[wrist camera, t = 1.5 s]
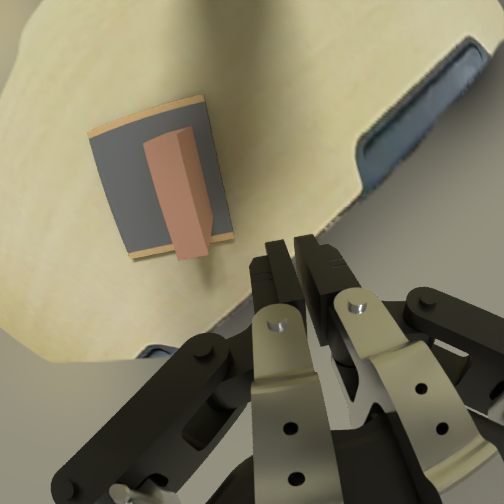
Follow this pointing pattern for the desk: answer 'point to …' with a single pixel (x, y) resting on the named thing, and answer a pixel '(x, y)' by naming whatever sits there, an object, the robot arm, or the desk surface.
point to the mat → (139, 176)
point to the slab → (181, 191)
